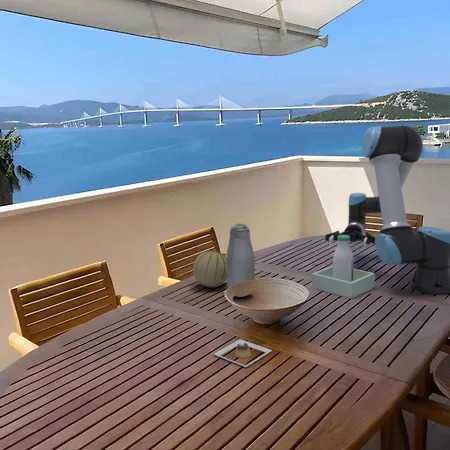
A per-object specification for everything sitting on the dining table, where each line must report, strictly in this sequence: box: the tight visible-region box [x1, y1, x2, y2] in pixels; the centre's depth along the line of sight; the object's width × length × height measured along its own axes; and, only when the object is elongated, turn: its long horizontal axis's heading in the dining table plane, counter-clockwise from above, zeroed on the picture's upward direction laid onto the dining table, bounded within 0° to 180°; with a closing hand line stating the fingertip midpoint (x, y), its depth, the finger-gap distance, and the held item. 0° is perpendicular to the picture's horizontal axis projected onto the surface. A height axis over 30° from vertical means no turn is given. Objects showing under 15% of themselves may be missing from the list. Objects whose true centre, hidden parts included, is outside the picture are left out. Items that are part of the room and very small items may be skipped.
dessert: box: [213, 338, 273, 368], centre depth 134 cm, size 12×12×5 cm
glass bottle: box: [225, 223, 255, 288], centre depth 178 cm, size 10×10×28 cm
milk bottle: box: [332, 235, 354, 282], centre depth 183 cm, size 8×8×20 cm
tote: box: [311, 265, 376, 299], centre depth 185 cm, size 18×16×6 cm
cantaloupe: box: [192, 248, 227, 288], centre depth 191 cm, size 15×15×15 cm
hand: (347, 243), depth 191 cm, fingers open, 13 cm apart
